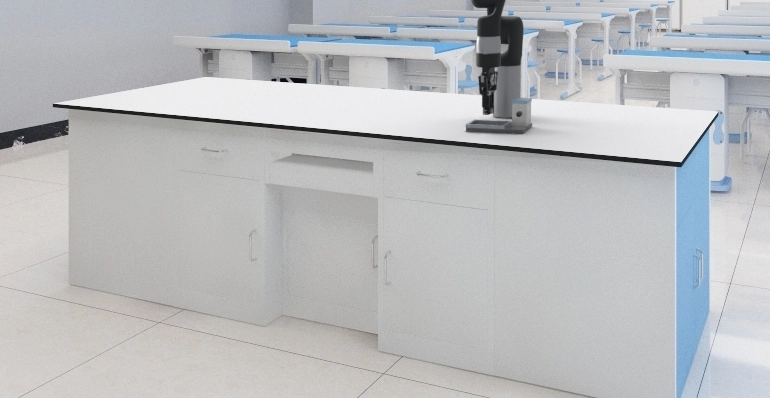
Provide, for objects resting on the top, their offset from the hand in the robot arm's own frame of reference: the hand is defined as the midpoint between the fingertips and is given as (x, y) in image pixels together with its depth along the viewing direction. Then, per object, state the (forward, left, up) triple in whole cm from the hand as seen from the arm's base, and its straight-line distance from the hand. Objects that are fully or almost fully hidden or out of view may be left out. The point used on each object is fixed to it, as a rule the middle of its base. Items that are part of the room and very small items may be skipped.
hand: (488, 106), depth 289 cm
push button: (+1, 0, -3) cm, 3 cm away
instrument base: (-2, +3, -7) cm, 8 cm away
